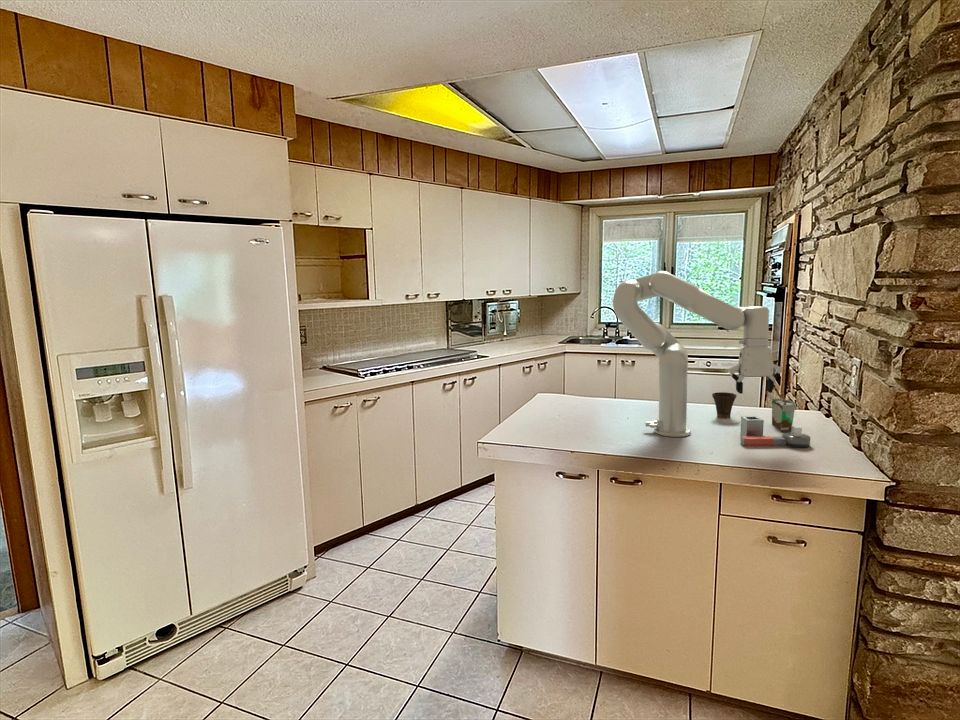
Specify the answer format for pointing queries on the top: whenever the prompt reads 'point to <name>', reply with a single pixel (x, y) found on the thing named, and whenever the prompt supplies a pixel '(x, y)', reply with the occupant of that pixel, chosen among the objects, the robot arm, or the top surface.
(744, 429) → the square aluminium tube
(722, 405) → the cup
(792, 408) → the food container
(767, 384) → the robot arm
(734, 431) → the top surface
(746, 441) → the ratchet
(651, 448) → the top surface
